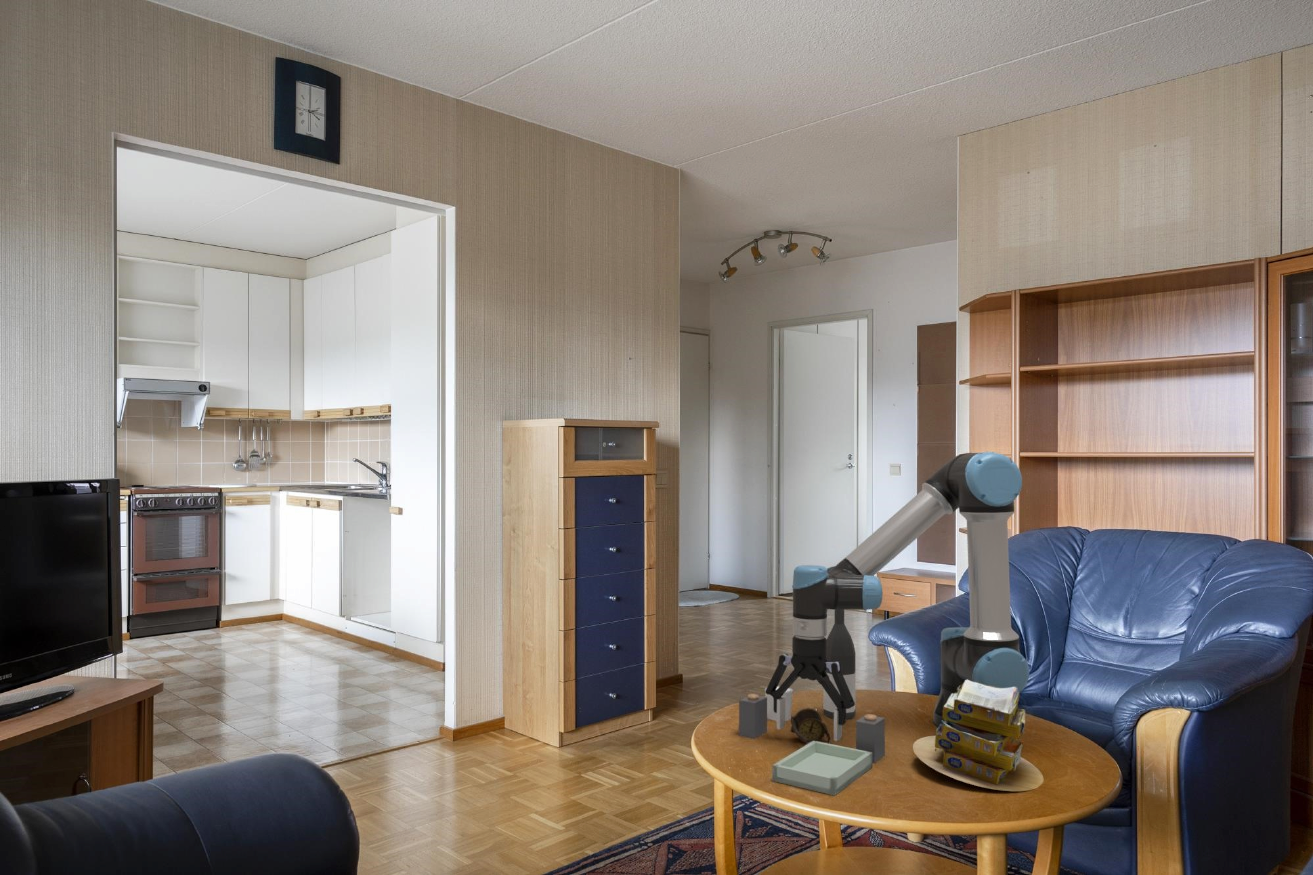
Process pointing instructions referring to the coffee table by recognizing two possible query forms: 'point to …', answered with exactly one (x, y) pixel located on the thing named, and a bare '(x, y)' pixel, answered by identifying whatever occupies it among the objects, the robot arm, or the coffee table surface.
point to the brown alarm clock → (809, 726)
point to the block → (871, 736)
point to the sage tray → (822, 767)
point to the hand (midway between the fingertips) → (808, 733)
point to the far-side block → (752, 716)
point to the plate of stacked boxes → (981, 740)
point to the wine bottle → (843, 652)
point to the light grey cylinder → (788, 705)
